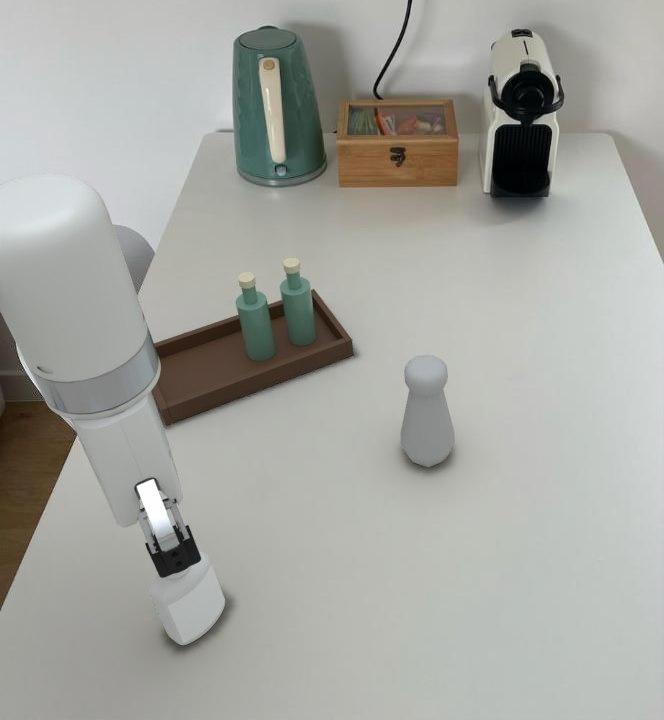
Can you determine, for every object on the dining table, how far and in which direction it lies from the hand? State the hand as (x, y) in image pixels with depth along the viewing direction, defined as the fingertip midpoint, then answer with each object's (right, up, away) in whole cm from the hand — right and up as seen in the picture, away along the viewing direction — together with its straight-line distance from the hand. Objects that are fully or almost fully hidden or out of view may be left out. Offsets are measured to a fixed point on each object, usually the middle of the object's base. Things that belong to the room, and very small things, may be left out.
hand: (162, 520), depth 64 cm
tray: (0, +13, +36) cm, 38 cm away
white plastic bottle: (0, -11, +10) cm, 15 cm away
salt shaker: (+22, +3, +24) cm, 32 cm away
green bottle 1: (+1, +14, +36) cm, 39 cm away
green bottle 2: (+6, +16, +38) cm, 41 cm away
